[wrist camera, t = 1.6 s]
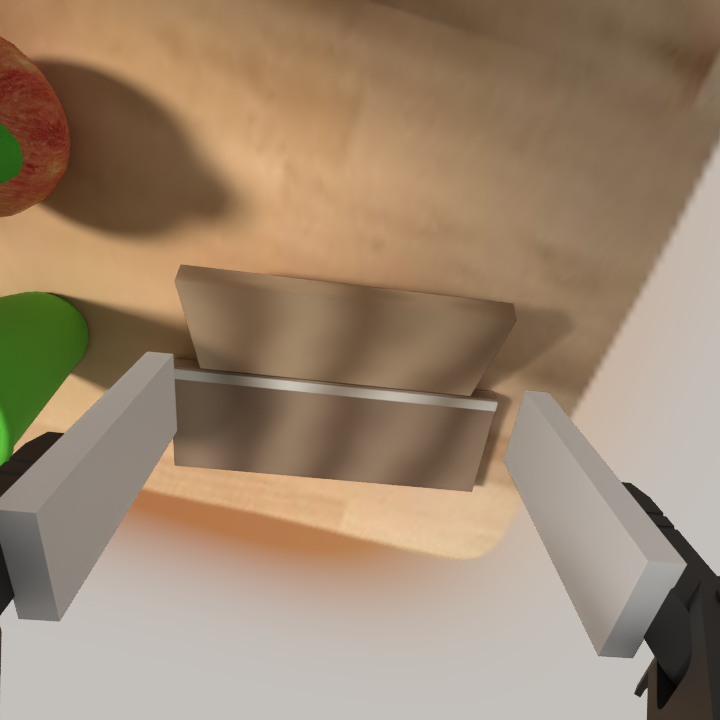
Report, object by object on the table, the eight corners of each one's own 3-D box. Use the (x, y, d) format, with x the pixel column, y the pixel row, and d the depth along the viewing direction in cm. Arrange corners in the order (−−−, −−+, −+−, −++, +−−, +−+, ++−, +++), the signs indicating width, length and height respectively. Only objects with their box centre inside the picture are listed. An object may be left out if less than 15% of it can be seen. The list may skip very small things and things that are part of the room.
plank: (205, 356, 31) (201, 370, 30) (180, 264, 24) (174, 280, 24) (467, 383, 32) (468, 398, 31) (513, 303, 25) (516, 320, 25)
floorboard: (180, 455, 34) (174, 466, 33) (175, 358, 31) (169, 366, 30) (468, 481, 36) (472, 492, 35) (493, 391, 33) (498, 400, 31)
